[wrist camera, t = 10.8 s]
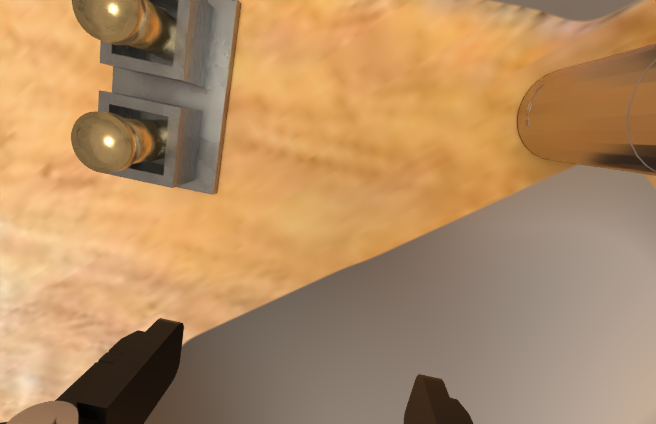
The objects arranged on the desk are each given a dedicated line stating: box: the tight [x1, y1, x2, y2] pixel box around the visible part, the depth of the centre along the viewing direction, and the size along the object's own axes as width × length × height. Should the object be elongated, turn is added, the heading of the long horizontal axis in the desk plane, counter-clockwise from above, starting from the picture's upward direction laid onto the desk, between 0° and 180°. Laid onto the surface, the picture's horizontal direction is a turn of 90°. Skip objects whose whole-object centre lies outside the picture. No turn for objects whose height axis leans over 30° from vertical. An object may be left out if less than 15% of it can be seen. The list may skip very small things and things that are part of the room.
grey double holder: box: [72, 0, 241, 195], centre depth 31 cm, size 12×20×11 cm, turn 168°
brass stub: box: [71, 112, 168, 173], centre depth 32 cm, size 5×5×10 cm
